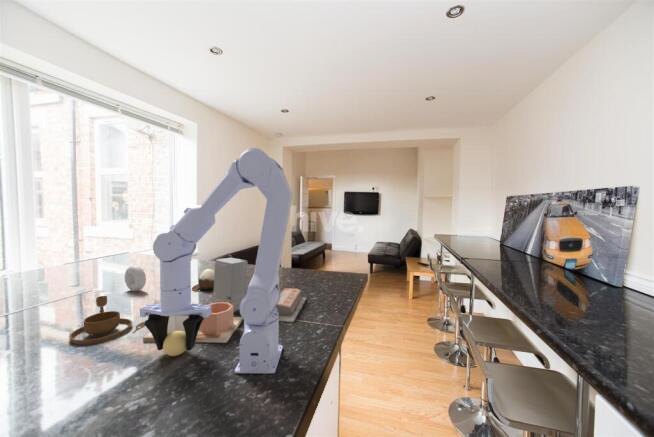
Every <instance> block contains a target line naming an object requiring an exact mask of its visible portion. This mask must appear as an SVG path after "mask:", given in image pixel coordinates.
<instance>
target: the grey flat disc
mask: <svg viewBox="0 0 654 437" xmlns="http://www.w3.org/2000/svg"><path fill="white" fill-rule="evenodd" d="M146 282H147V276H146V273H145V271H144V269H143V268H142V267H141V266H139V265H137V264H135V265H131V266H129V267H127V269H126V270H125V273H124V283H125V285H126V287H127V289H129V290H130V291H132V292H139V291H141V290H142V289H143V288H144V287H145V285H146Z"/></svg>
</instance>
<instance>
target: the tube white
mask: <svg viewBox="0 0 654 437" xmlns="http://www.w3.org/2000/svg"><path fill="white" fill-rule="evenodd" d="M191 303H194V302H192V301H191ZM187 318H189V316H169V321H168V328H167V334H171V333H172V332H175V331H185V329H184V326H183V322H184V321H185V320H186V319H187Z"/></svg>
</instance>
